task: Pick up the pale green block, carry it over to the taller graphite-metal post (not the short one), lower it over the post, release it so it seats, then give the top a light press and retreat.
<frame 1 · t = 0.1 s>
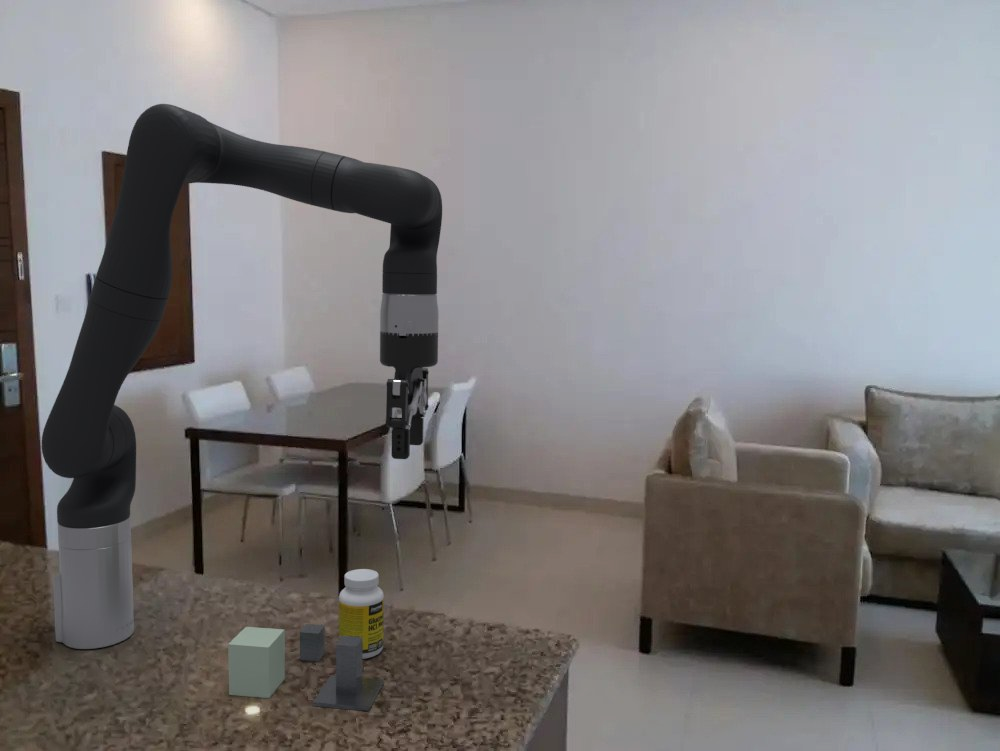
hand: (407, 451, 110), 29 cm above the counter, fingers open, 8 cm apart
post on square base: (349, 694, 104), on the counter
pale green block: (257, 686, 106), on the counter
short post: (312, 656, 114), on the counter
pill bottle: (361, 651, 116), on the counter
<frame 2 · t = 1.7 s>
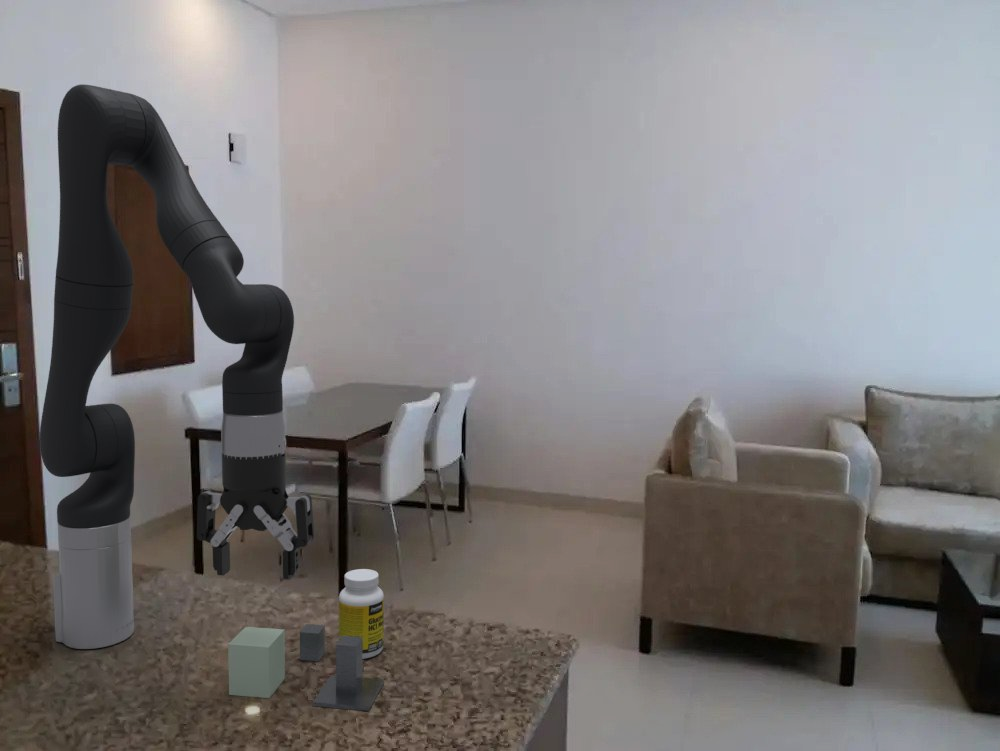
hand: (256, 575, 104), 15 cm above the counter, fingers open, 8 cm apart
nothing on the counter moved.
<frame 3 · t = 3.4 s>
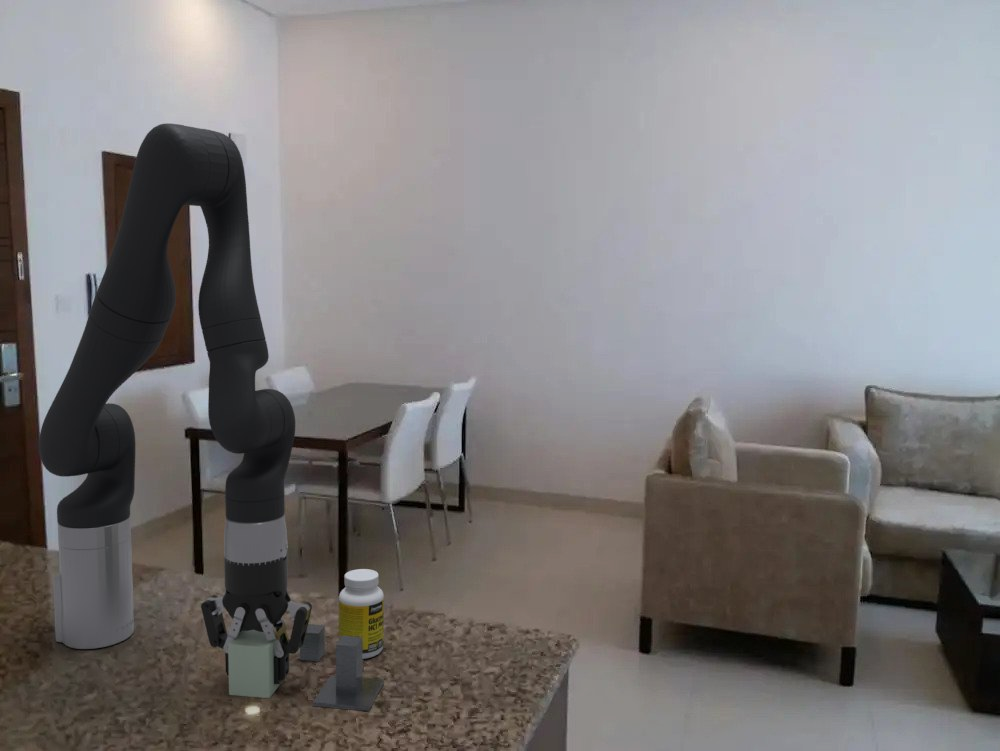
hand: (257, 679, 106), 1 cm above the counter, fingers closed on pale green block, 5 cm apart
pale green block: (257, 686, 106), on the counter, touching gripper
everything else where it was.
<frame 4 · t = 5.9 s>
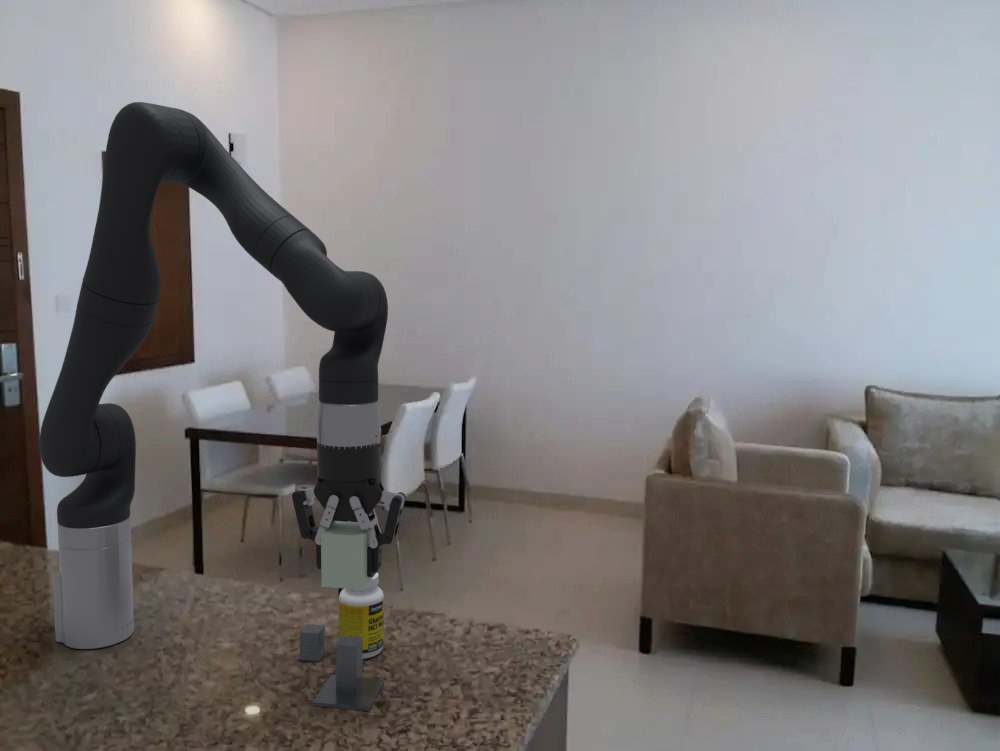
hand: (349, 572, 102), 16 cm above the counter, fingers closed on pale green block, 5 cm apart
pale green block: (348, 580, 102), point 15 cm above the counter, touching gripper
everything else where it was.
when the fingers open (4 cm above the counter, at t = 8.3 s): pale green block drops 2 cm, resting on post on square base.
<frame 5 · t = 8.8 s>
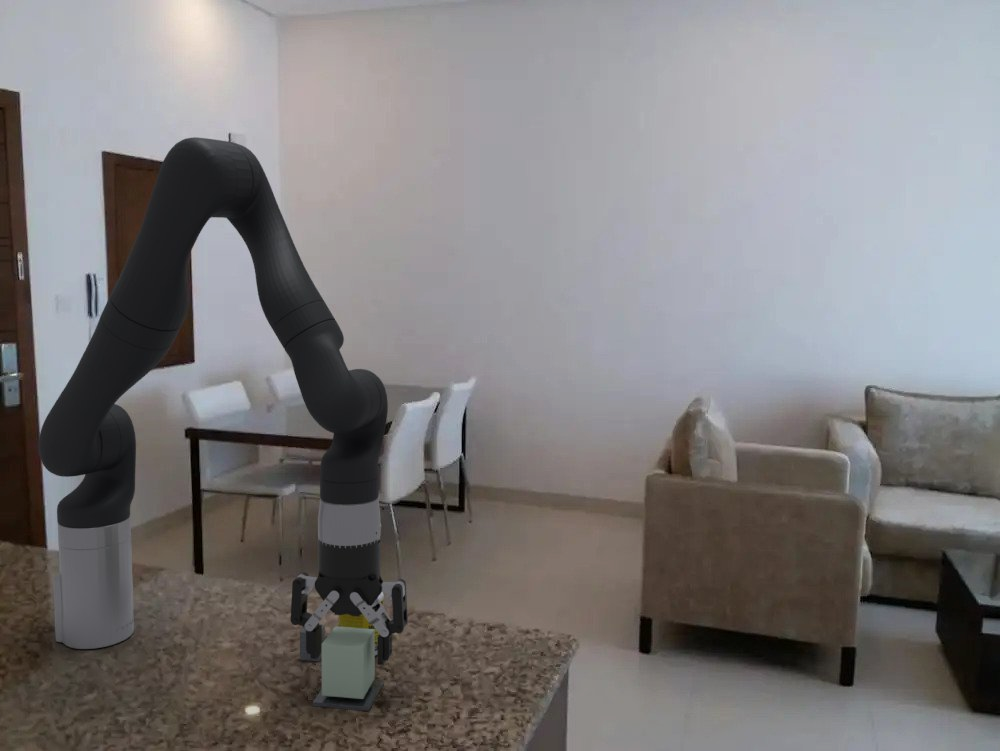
hand: (349, 659, 104), 5 cm above the counter, fingers open, 8 cm apart
pale green block: (348, 686, 104), point 1 cm above the counter, touching post on square base
everything else where it was.
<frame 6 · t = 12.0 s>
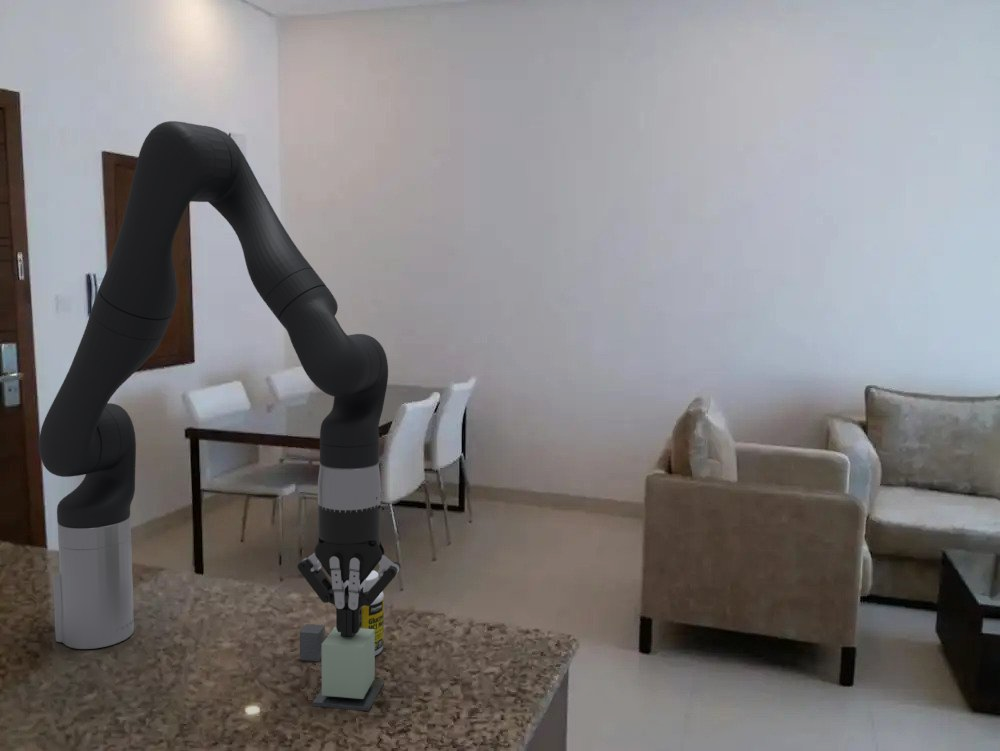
hand: (349, 634, 103), 8 cm above the counter, fingers closed
nothing on the counter moved.
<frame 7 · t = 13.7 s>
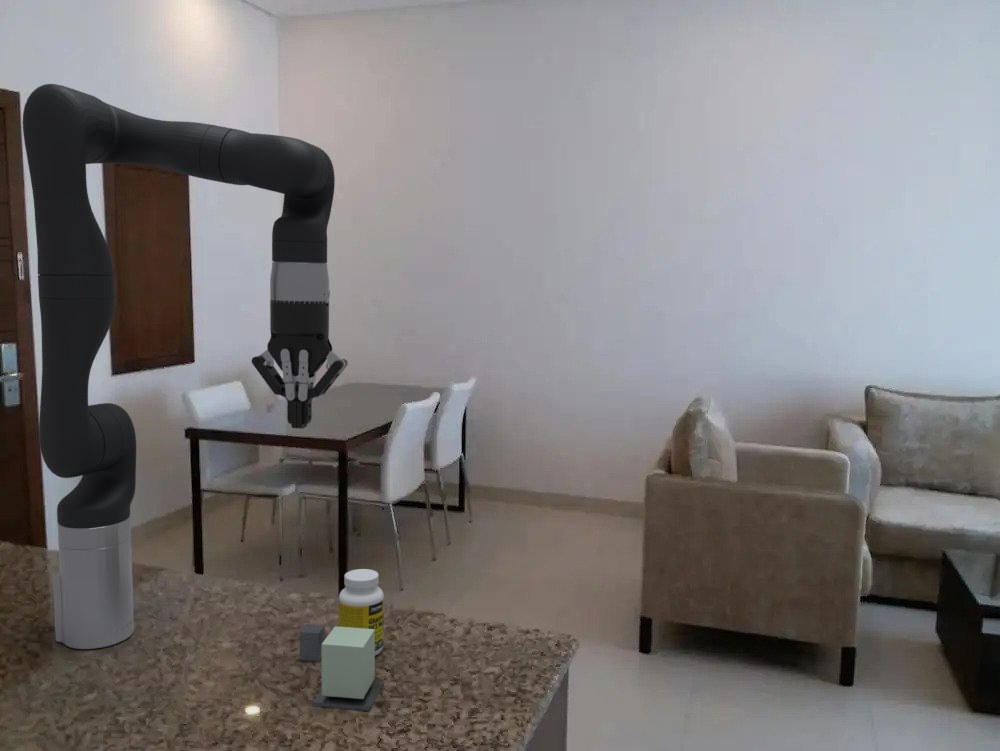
hand: (299, 427, 111), 32 cm above the counter, fingers closed
nothing on the counter moved.
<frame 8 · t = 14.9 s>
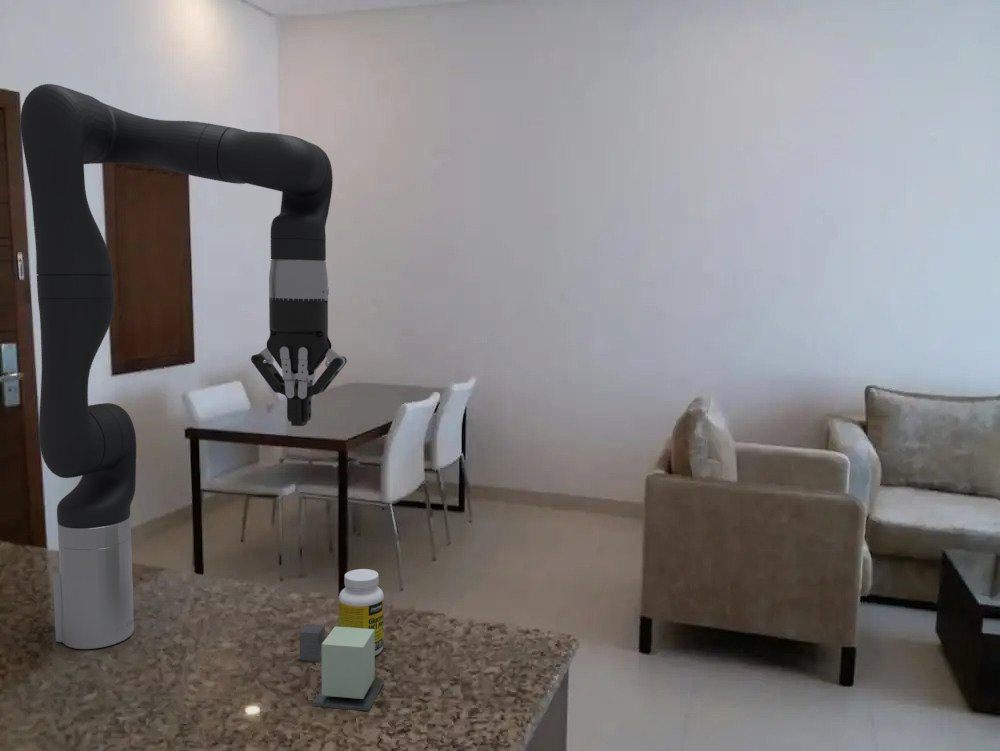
hand: (299, 425, 111), 32 cm above the counter, fingers closed
nothing on the counter moved.
at the end: pale green block 0.1 cm from the post on square base (horizontally); pale green block point 1.0 cm above the counter; pale green block tilted 0° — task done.
